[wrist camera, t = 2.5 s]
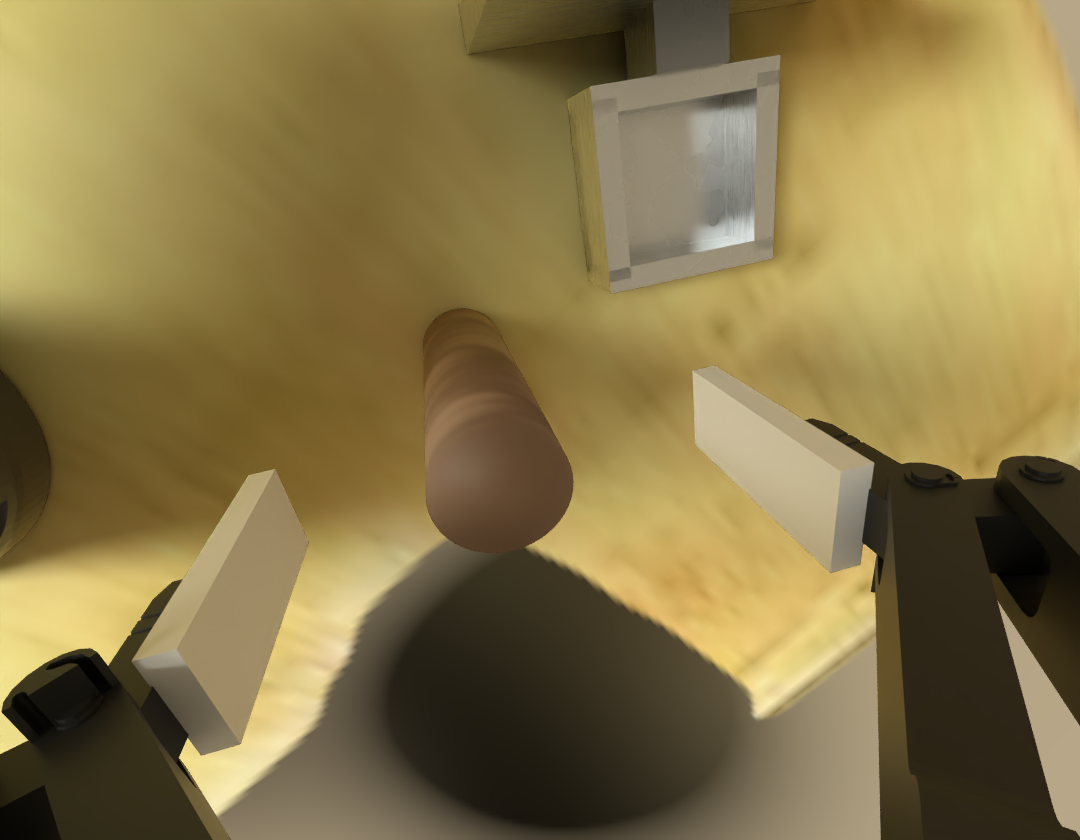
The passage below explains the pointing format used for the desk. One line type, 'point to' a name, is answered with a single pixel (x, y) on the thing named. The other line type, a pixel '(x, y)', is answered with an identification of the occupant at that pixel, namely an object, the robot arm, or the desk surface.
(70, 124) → the desk surface
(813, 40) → the desk surface
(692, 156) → the bracket
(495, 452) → the handle
